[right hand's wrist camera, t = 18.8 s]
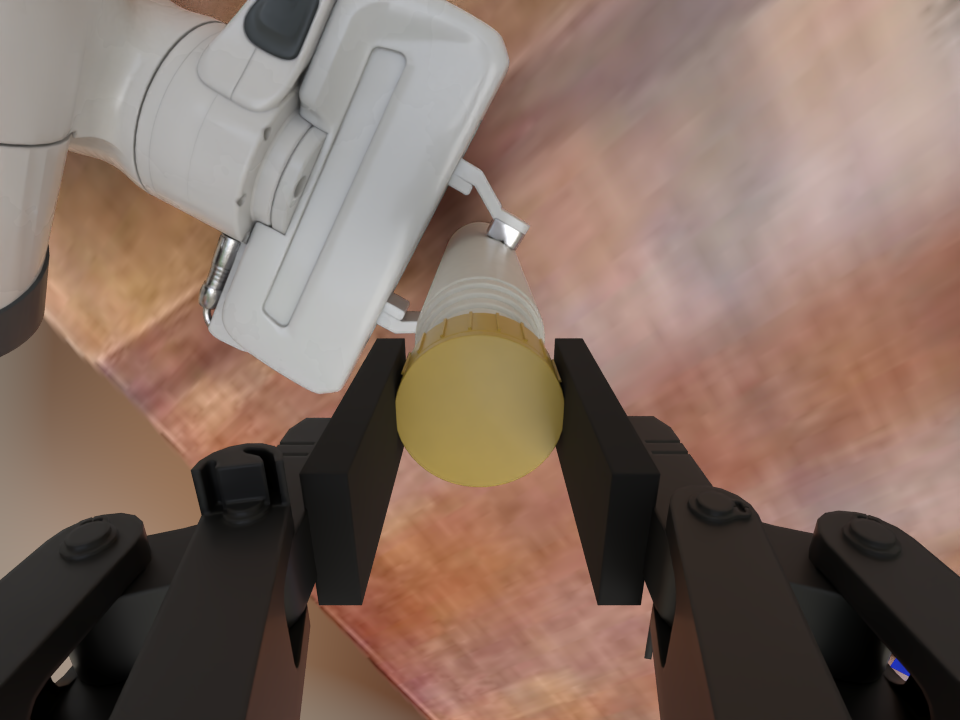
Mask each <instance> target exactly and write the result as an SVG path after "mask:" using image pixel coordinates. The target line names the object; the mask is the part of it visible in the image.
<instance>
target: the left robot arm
mask: <svg viewBox="0 0 960 720" xmlns="http://www.w3.org/2000/svg"><path fill="white" fill-rule="evenodd" d="M508 68H509V57H508V53H507V49H506V46H505V43H504V41H503V38H502V36H501V35H500V34H499V33H498V32H497V31H496V30H495V29H493V28H492V27H491V26H489V25H488V24H486V23H485V22H483V21H482V20H480V19H478V18H476V17H475V16H473V15H471V14H470V13H468V12H466V11H465V10H463V9H461V8H459V7H457V6H455V5H454V4H452V3H450V2H448V1H446V0H247V1H246V3H245V4H244V5H243V6H242V8H241V9H240V10H239V11H238V12H237V14H236V15H235V16H234V17H233V18H232V19H231V21H230V22H229V23H228V24H225V23H224V22H222V21H220V20H218V19H215V18H213V17H210V16H207V15H203V14H199V13H195V12H192V11H189V10H186V9H184V8H182V7H180V6H178V5H176V4H175V3H173V2H172V1H170V0H0V357H1V356H3V355H5V354H7V353H9V352H11V351H12V350H14V349H16V348H17V347H19V346H20V345H21V344H23V343H24V342H25V341H27V340H28V339H29V338H30V337H31V336H32V335H33V334H34V333H35V331H36V330H37V329H38V327H39V326H40V324H41V322H42V319H43V316H44V310H45V299H46V288H47V277H48V266H49V245H48V242H49V238H50V233H51V228H52V223H53V219H54V214H55V209H56V204H57V200H58V195H59V190H60V185H61V181H62V176H63V171H64V166H65V162H66V157H67V152H68V150H69V151H71V152H74V153H77V154H81V155H85V156H89V157H93V158H97V159H100V160H103V161H105V162H107V163H109V164H111V165H113V166H115V167H116V168H118V169H119V170H120V171H122V172H123V173H124V174H125V175H126V176H127V177H128V178H129V179H130V180H131V181H132V182H134V183H135V184H136V185H137V186H138V187H140V188H141V189H143V190H144V191H146V192H147V193H149V194H150V195H152V196H155V197H156V198H158V199H160V200H162V201H164V202H166V203H168V204H170V205H171V206H173V207H175V208H177V209H179V210H181V211H183V212H185V213H187V214H189V215H190V216H192V217H194V218H196V219H198V220H200V221H202V222H203V223H205V224H207V225H209V226H211V227H213V228H215V229H217V230H219V231H221V232H222V234H221V236H220V238H219V242H218V244H217V247H216V250H215V252H214V255H213V259H212V263H211V268H210V271H209V275H208V277H207V280H206V281H204V283H203V285H202V287H201V289H200V293H199V298H198V303H199V304H200V305H201V306H202V307H203V317H204V320H205V323H206V325H207V327H208V329H209V332H210V333H211V334H212V335H213V336H214V337H216V338H217V339H219V340H221V341H223V342H225V343H227V344H229V345H231V346H233V347H235V348H237V349H239V350H242V351H245V352H249V353H250V354H251V355H253V356H254V357H256V358H257V359H259V360H260V361H261V362H263V363H264V364H266V365H267V366H269V367H270V368H272V369H274V370H275V371H277V372H278V373H280V374H282V375H283V376H285V377H286V378H288V379H290V380H292V381H293V382H295V383H297V384H298V385H300V386H302V387H304V388H306V389H308V390H310V391H312V392H314V393H317V394H324V393H332V392H338V391H340V390H341V389H342V388H343V386H344V385H345V383H346V382H347V380H348V378H349V376H350V375H351V373H352V371H353V369H354V367H355V365H356V363H357V361H358V360H359V358H360V356H361V354H362V352H363V350H364V348H365V346H366V344H367V342H368V340H369V338H370V336H371V334H372V332H373V331H374V329H375V327H376V325H377V324H378V325H380V326H382V327H383V328H385V329H387V330H389V331H391V332H393V333H395V334H397V333H415V332H416V325H417V321H418V318H419V315H420V313H421V311H407V309H408V307H409V305H410V302H409V301H408V300H406V299H404V298H402V297H400V296H399V295H397V294H395V293H393V292H394V290H395V288H396V286H397V284H398V282H399V280H400V278H401V276H402V274H403V273H404V271H405V269H406V267H407V265H408V263H409V261H410V259H411V257H412V255H413V253H414V251H415V249H416V247H417V245H418V244H419V242H420V240H421V238H422V236H423V234H424V232H425V230H426V228H427V226H428V224H429V222H430V220H431V218H432V216H433V215H434V213H435V211H436V209H437V207H438V205H439V203H440V201H441V199H442V197H443V195H444V193H445V191H446V189H447V187H448V186H451V187H453V188H454V189H456V190H458V191H459V192H461V193H463V194H465V195H468V194H470V192H471V190H472V188H473V185H474V186H475V188H476V190H477V191H478V193H479V195H480V197H481V198H482V200H483V202H484V204H485V205H486V207H487V209H488V211H489V212H490V214H491V216H492V218H493V219H492V221H491V223H490V225H489V226H488V228H487V230H486V232H487V235H488V236H490V237H492V238H493V239H495V240H497V241H504V244H505V245H506V246H507V247H509V248H511V249H512V250H515V251H516V249H517V248H518V246H519V244H520V243H521V241H522V239H523V238H524V236H525V234H526V233H527V231H528V229H529V228H530V225H529V224H528V223H526V222H525V221H524V220H522V219H520V218H519V217H517V216H515V215H514V214H512V213H510V212H509V211H507V210H505V209H504V208H502V206H501V204H500V202H499V200H498V198H497V196H496V195H495V193H494V191H493V189H492V188H491V186H490V184H489V182H488V180H487V179H486V177H485V175H484V173H483V171H482V170H481V169H479V168H477V167H476V166H474V165H472V164H471V163H469V162H468V161H466V160H464V159H463V157H464V155H465V153H466V151H467V149H468V147H469V145H470V143H471V141H472V139H473V137H474V135H475V133H476V131H477V129H478V128H479V126H480V124H481V122H482V120H483V118H484V116H485V114H486V112H487V110H488V108H489V106H490V104H491V102H492V101H493V99H494V97H495V95H496V93H497V91H498V89H499V87H500V85H501V83H502V81H503V79H504V77H505V75H506V73H507V71H508ZM211 309H215V311H214V314H213V316H211Z"/></svg>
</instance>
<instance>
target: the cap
mask: <svg viewBox="0 0 960 720" xmlns="http://www.w3.org/2000/svg"><path fill="white" fill-rule="evenodd" d="M401 374H402V375H403V376H402V379H401V382H400V385H399V387H398V390H397V394H396V399H395V403H396V418H397V431H398V434H399V436H400V439H401V441H402V443H403V445H404V446H405V448H406V450H407V451H408V452H409V454H410V455H411V456H412V458H413V459H414V460H415V461H416V462H417V463H418V464H419V465H420V466H422V467H423V468H424V469H425V470H427V471H428V472H430V473H431V474H433V475H435V476H436V477H439V478H441V479H443V480H445V481H448V482H451V483H454V484H458V485H463V486H470V487H490V486H497V485H502V484H506V483H509V482H512V481H515V480H517V479H519V478H521V477H523V476H525V475H527V474H528V473H530V472H531V471H533V470H534V469H536V468H537V467H538V466H539V465H540V464H542V463H543V461H544V460H545V459H546V458H547V457H548V456H549V455H550V453H551V452H552V451H553V449H554V448H555V446H556V444H557V442H558V440H559V438H560V435H561V433H562V428H563V414H564V396H563V392H562V388H561V385H560V382H562V381H561V378H560V375H559V373H558V370H557V367H556V365H555V362H554V359H553V360H551V358H550V356H549V353H548V351H547V350H546V348H545V345H544V343H543V340H542V339H541V338H540V339H539V338H538V337H537V336H536V335H535V334H534V333H533V332H532V331H530V330H529V329H528V328H526V327H525V326H524V323H522V322H521V323H518V322H517V321H515V320H512V319H510V318H507V317H505V316H501V315H499V313H496V314H491V313H472V311H470V312H469V314H463V315H459V316H455V317H452V318H450V319H447V318H445V319H443V322H441V323H440V324H438V325H436V326H435V327H433V328H432V329H431V330H429V331H428V332H427V333H425V332H424V333H423V334H422V337H421V339H420V340H419V342H418V343H417V344H416V346H415V347H414V349H413V351H412V353H410V352H409V354H408V356H407V359H406V362H405V364H404V367H403V370H402V372H401Z"/></svg>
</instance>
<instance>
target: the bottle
mask: <svg viewBox="0 0 960 720" xmlns="http://www.w3.org/2000/svg"><path fill="white" fill-rule="evenodd" d="M489 225H490V223H486V222H474V223H470V224H467V225H465V226H463V227H461V228H460V229H458V230H457V231H456V232H455V233H454V234H453V235H452V237H451V238H450V240H449V242H448V244H447V246H446V249H445V252H444V254H443V257H442V259H441V262H440V264H439V267H438V269H437V272H436V274H435V277H434V280H433V282H432V285H431V287H430V290H429V292H428V295H427V297H426V300H425V302H424V305H423V307H422V310H421V313H420V315H419V318H418V321H417V325H416V332H415V346H416V344H417V343H418V342H419V340H420V339H421V337H422V334H423V333H424V332H425V333H427V332H428V331H429V330H431V329H432V328H433V327H435V326H436V325H438V324H440V323H441V322H443V319H445V318H447V319H450V318H452V317H455V316H459V315H463V314H469V312H470V311H472V313H491V314H496V313H499V315H501V316H505V317H507V318H510V319H512V320H515V321H517V322H518V323H521V322H522V323H524V326H525V327H526V328H528V329H529V330H530V331H532V332H533V333H534V334H535V335H536V336H537V337H538V338H539V339H540V338H541V339H542V340H543V343H544V345H545V340H544V336H545V334H544V326H543V322H542V318H541V316H540V313H539V311H538V308H537V306H536V303H535V301H534V298H533V295H532V293H531V290H530V288H529V285H528V283H527V280H526V278H525V275H524V272H523V270H522V267H521V265H520V262H519V260H518V257H517V255H516V252H515V250H512V249H511V248H509V247H507V246H506V245H505V244H504V241H497V240H495V239H493V238H492V237H490V236H488V235H487V232H486V230H487V228H488V226H489Z"/></svg>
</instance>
